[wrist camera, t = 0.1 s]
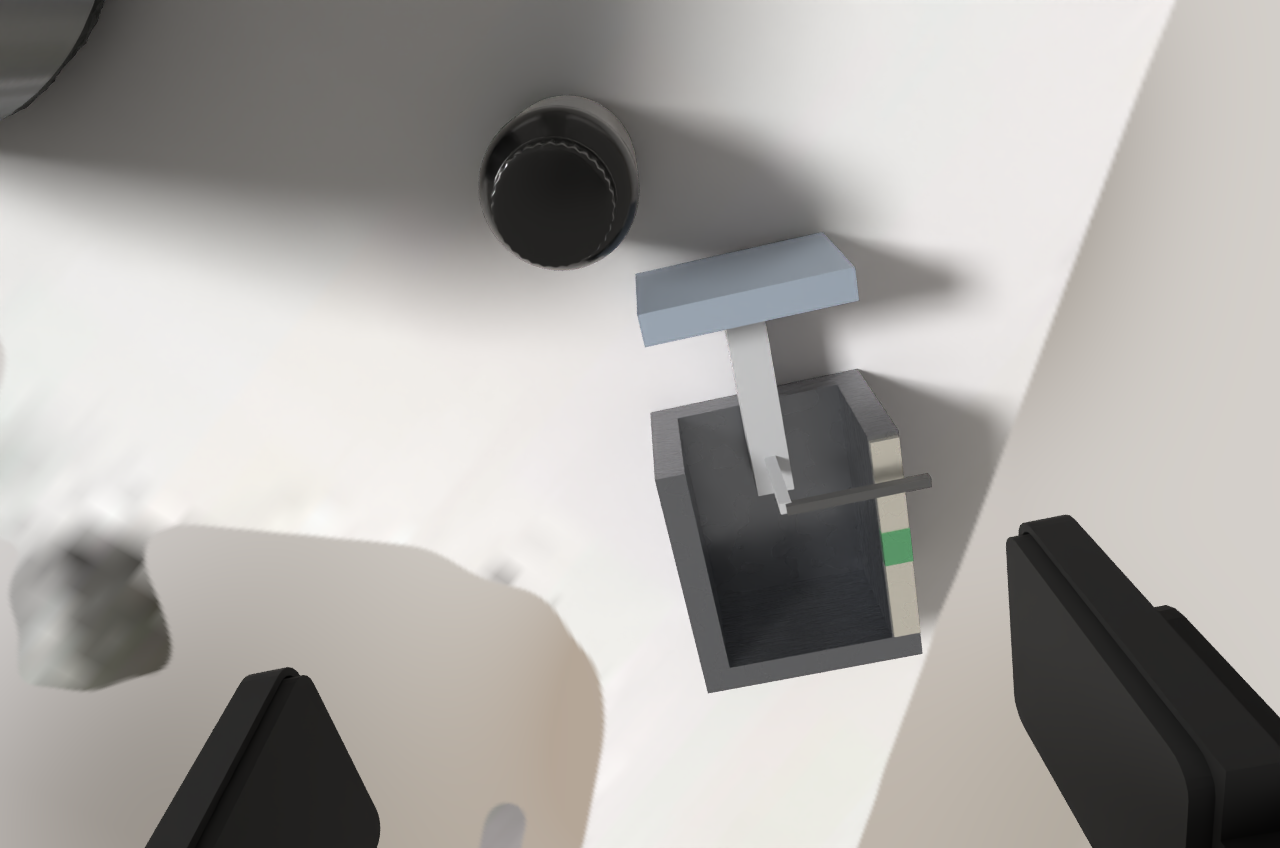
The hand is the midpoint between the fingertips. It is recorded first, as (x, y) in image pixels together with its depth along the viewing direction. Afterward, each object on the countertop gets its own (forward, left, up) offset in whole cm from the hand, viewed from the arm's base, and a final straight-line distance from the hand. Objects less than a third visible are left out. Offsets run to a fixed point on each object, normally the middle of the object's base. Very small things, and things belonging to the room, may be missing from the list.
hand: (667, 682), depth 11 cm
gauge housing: (+20, +4, -37) cm, 42 cm away
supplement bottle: (-2, -3, -37) cm, 37 cm away
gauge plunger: (+11, +5, -36) cm, 38 cm away
